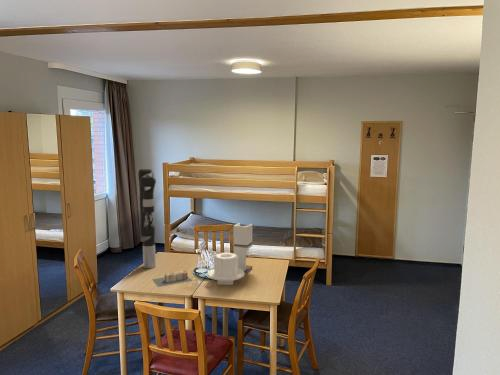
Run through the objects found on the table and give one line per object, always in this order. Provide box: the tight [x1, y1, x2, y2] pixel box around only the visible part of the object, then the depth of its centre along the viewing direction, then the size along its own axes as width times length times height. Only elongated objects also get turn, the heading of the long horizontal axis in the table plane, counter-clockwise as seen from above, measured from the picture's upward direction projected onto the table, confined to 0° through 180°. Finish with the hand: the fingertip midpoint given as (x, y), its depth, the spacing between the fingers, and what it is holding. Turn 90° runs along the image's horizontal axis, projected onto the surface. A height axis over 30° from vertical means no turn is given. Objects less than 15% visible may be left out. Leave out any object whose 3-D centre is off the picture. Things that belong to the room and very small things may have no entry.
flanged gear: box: [207, 252, 245, 286], centre depth 273 cm, size 25×25×19 cm
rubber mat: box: [152, 276, 193, 288], centre depth 276 cm, size 16×24×1 cm, turn 119°
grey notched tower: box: [233, 222, 253, 274], centre depth 297 cm, size 11×11×35 cm
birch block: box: [164, 270, 189, 282], centre depth 277 cm, size 4×4×15 cm
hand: (149, 229), depth 276 cm, fingers closed
